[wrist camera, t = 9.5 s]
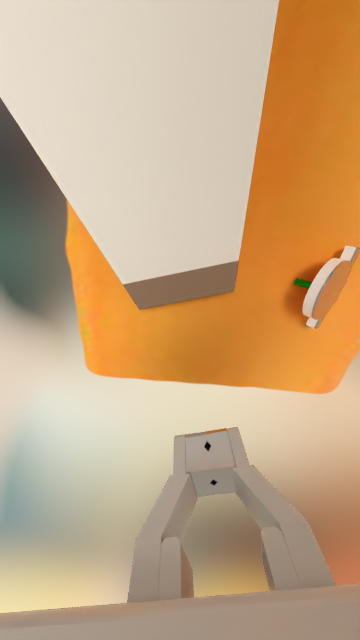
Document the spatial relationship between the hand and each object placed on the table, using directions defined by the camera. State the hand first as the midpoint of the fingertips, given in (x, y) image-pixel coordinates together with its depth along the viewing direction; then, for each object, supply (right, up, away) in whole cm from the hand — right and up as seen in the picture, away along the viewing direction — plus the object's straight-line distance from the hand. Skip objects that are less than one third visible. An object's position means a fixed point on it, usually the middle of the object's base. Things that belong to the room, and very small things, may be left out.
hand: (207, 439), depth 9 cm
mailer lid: (-3, +18, +14) cm, 23 cm away
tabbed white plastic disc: (+24, +13, +29) cm, 40 cm away
